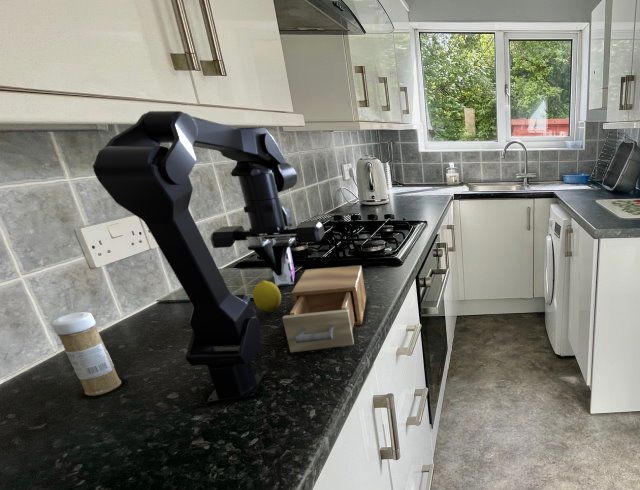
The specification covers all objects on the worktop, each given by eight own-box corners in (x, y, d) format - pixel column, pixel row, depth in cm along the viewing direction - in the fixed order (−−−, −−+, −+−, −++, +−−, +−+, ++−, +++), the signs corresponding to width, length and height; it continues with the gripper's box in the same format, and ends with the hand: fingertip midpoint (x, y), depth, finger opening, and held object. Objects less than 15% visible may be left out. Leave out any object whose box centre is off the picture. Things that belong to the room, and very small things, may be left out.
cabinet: (361, 324, 90) (355, 286, 87) (299, 331, 87) (291, 292, 84) (366, 299, 103) (361, 265, 100) (312, 304, 101) (305, 269, 97)
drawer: (351, 356, 76) (345, 321, 74) (284, 365, 74) (275, 329, 71) (359, 315, 92) (354, 286, 90) (304, 321, 90) (298, 291, 87)
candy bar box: (295, 284, 113) (282, 226, 107) (274, 287, 111) (260, 228, 105) (296, 272, 122) (284, 217, 116) (277, 274, 120) (264, 219, 114)
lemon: (272, 318, 93) (264, 286, 90) (252, 316, 94) (243, 284, 91) (289, 308, 98) (282, 277, 95) (269, 306, 99) (262, 275, 96)
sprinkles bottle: (122, 377, 72) (92, 308, 67) (121, 389, 68) (89, 318, 63) (86, 387, 69) (52, 316, 64) (83, 400, 66) (47, 326, 61)
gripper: (322, 189, 86) (335, 259, 92) (223, 192, 82) (243, 265, 88) (311, 198, 76) (326, 276, 82) (198, 203, 72) (222, 284, 78)
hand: (280, 275), depth 83 cm, fingers closed
